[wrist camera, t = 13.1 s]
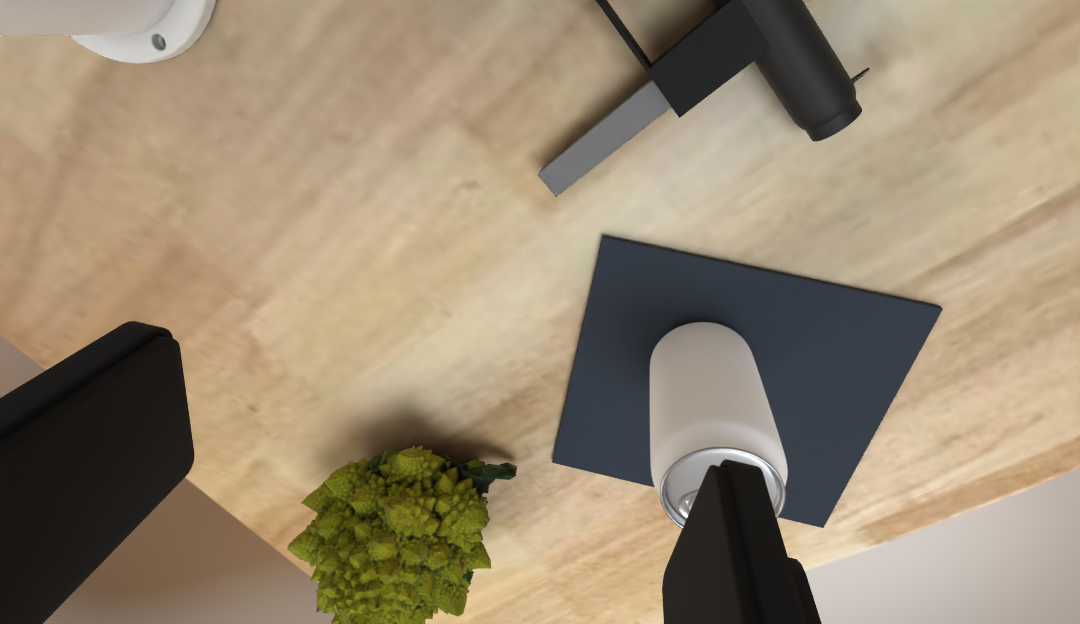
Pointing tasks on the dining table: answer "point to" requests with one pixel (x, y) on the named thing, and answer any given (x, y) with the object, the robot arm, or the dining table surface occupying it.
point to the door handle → (723, 78)
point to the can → (708, 415)
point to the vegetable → (398, 536)
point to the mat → (777, 347)
